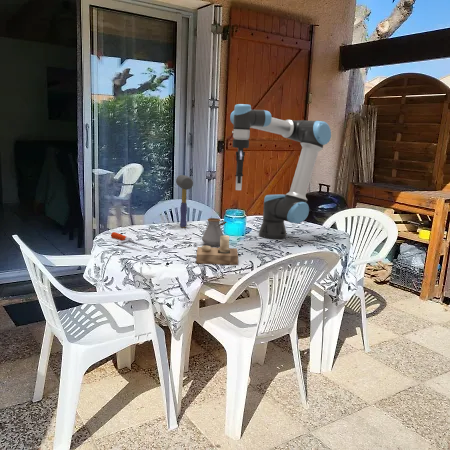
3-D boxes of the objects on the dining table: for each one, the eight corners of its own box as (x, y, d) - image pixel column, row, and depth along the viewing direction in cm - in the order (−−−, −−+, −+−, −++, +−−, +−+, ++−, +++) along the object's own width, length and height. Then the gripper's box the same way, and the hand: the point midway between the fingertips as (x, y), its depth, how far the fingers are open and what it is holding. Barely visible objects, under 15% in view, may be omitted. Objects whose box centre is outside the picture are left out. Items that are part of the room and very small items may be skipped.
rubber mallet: (192, 229, 260) (194, 176, 254) (179, 230, 258) (181, 176, 251) (186, 224, 272) (187, 174, 265) (174, 225, 269) (175, 174, 262)
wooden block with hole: (236, 256, 212) (237, 244, 211) (237, 264, 200) (238, 251, 199) (197, 255, 211) (197, 242, 210) (196, 263, 200) (196, 249, 198)
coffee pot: (198, 242, 235) (199, 213, 231) (219, 240, 239) (220, 212, 236) (213, 253, 215) (214, 222, 212) (235, 252, 220) (237, 221, 216)
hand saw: (161, 245, 219) (146, 250, 211) (161, 252, 220) (146, 256, 212) (115, 231, 237) (99, 234, 229) (115, 237, 238) (99, 240, 230)
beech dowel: (228, 259, 208) (229, 235, 206) (228, 261, 204) (229, 237, 202) (219, 258, 208) (220, 235, 205) (219, 261, 204) (220, 237, 201)
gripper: (232, 138, 217) (229, 187, 222) (233, 139, 205) (230, 191, 210) (248, 138, 218) (245, 188, 223) (250, 139, 205) (247, 192, 210)
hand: (238, 190), depth 216 cm, fingers closed
